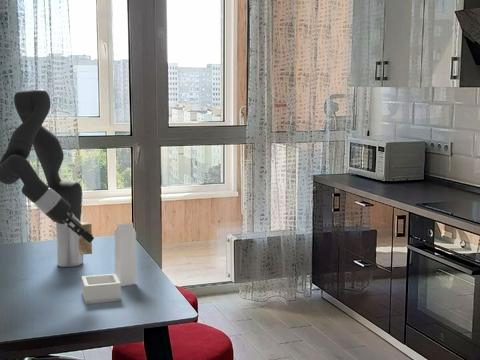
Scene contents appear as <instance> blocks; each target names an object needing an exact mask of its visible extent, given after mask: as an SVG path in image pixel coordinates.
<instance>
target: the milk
mask: <svg viewBox="0 0 480 360" xmlns="http://www.w3.org/2000/svg"><path fill="white" fill-rule="evenodd" d="M114 274H116V276H117V277H118V279H119V281H120V283H121V287H127V286H132V285H133V284H134V285H137V232H136V230H135V228H134V223H133V222H124V223H117V224H116V228H115V230H114ZM126 285H127V286H126ZM134 285H133V286H134Z"/></svg>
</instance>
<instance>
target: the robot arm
mask: <svg viewBox="0 0 480 360" xmlns="http://www.w3.org/2000/svg"><path fill="white" fill-rule="evenodd" d="M13 103H14V107H15V111H16V113H17V114H18V115H17V116H18V117H19V119H20V121H21V122H22V123H20V125H19V126H18V127H16V128H15V130H14V131H13V132H12V134H11V136H10V139H9V143H8V145H7V149H6V150H5V152H4V154H3V155H2V157H1V158H0V182H1V184H5V185H12V184H14V183H16V182H17V181H19V180H20V181H22V184H23V186H22V188H21V193H22V194H23V196H25V197H26V198H27V199H28V200H29V201H31V203H33V205H35V207H36V208H37V209H38V210H40V212H42V213H43V214H44V215H45V216H46V217H47V218H49V219H50V220H51V221H52V222H53V223H55V225H56V255H57V257H56V259H57V262H56V264H57V266H59V267H62V268H72V267H74V268H75V267H77V266H81V264H83V263H84V254H81V255H79V248H78V235H79V236H82V237H83V238H84V239H85V240H87V241H88V242H89V243H90V242H91V241H92V242H93V241H94V239H95V238H94V236H93V234H92V235H91V234H89V233H88V232H87V231H86V229H84V228H83V227H82V226H81V223H80V222H82V221H81V217H82V211H83V210H82V206H83V205H82V204H83V203H82V202H83V201H82V200H83V190H82V189H83V188H82V185H81V184H80V182H78V181H69V180H68V181H65V180H62V179H61V177H60V173H59V172H60V169H61V167H62V163H63V161H64V151H63V148H62V146H61V143H60V140H59V139H58V138H57V136H56V135H55V134H54V133H52V131H50V130H48V129H47V128H46V127H44V126H43V124H44V122H45V120H46V118H47V116H48V115H49V112H50V109H51V99H50V95H49V93H48V92H47V91H46V90H45V89H40V88H39V89H37V88H36V89H28V90H27V89H26V90H25V89H24V90H19V91H17V92H16V93H15V94H14V97H13ZM32 147H33V148H32ZM32 149H33V150H34V152H35V154H36V157H37V159H38V161H39V164H40V167H41V169H42V171H43V174H44V176H45V179H46V183H47V184H46V183H45V181H43V180H42V179H41V178H40V177H39V175H38V173H37V172H36V171H35V169H34V168H33V166H32V165H31V163H30V162H29V161H28V160H27V159H28V158H29V155H30V153H31V150H32ZM79 228H80V229H81V230H80V231H79V232H78V229H79Z"/></svg>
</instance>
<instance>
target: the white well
mask: <svg viewBox="0 0 480 360" xmlns="http://www.w3.org/2000/svg"><path fill="white" fill-rule="evenodd" d="M81 295H82V298H83V301H84V304H85V305H91V304H100V303H101V304H102V303H110V302H111V303H112V302H113V303H114V302H121V301H122V286H121V283H120V281H119V279H118V277H117V276H116V274H115V273H106V274H93V275H81Z"/></svg>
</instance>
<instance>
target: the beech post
mask: <svg viewBox="0 0 480 360" xmlns="http://www.w3.org/2000/svg"><path fill="white" fill-rule="evenodd" d="M80 223H81V226H82V227H83V228H84V229H86V231H87V232H88V233H89V234H91V235H93V233H92V230H93V229H92V222H91V221H81V222H80ZM80 230H81V229H80V228H79V229H78V232H79V231H80ZM78 248H79V255H81V254H83V255H92V254H93V240H92V241H91V242H90V243H89V242H88V241H87V240H85V239H84V238H83V237H82V236H79V235H78Z"/></svg>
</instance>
